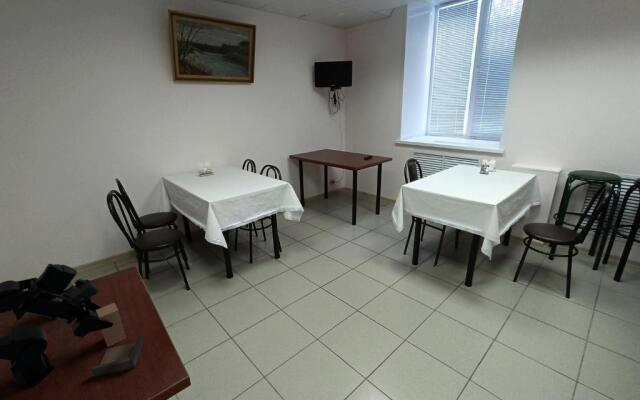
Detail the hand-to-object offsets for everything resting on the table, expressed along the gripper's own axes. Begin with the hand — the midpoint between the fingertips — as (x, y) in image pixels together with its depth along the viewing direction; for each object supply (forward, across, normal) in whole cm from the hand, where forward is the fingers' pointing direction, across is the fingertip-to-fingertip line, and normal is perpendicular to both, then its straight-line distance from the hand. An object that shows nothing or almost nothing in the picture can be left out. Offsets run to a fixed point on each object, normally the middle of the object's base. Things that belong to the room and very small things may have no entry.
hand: (109, 317), depth 93 cm
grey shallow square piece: (+5, -10, +6) cm, 13 cm away
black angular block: (-1, +30, +13) cm, 33 cm away
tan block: (+6, 0, +6) cm, 8 cm away
